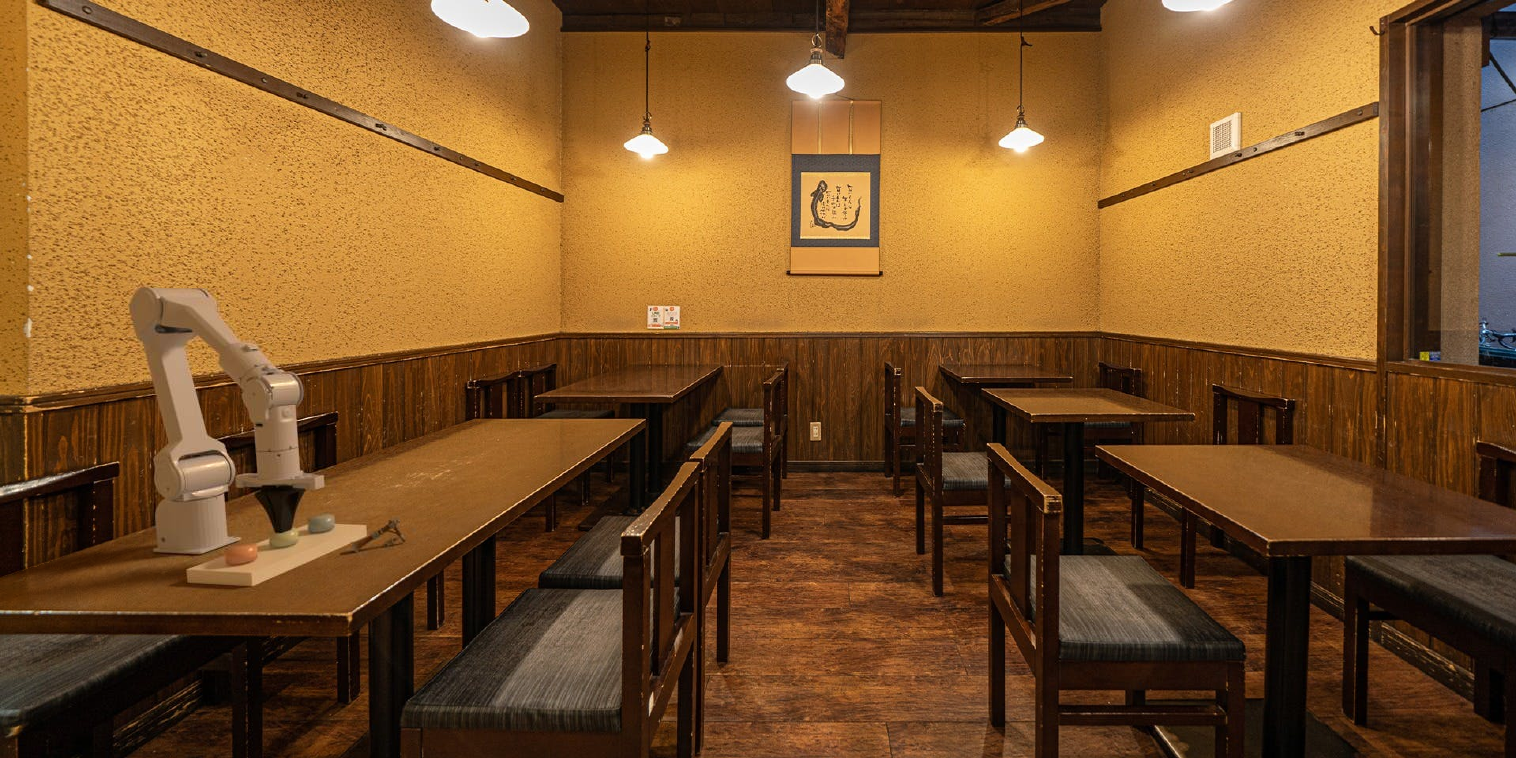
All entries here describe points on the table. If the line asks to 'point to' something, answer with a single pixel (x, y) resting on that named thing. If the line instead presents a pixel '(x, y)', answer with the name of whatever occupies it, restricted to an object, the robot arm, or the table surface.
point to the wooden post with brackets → (377, 534)
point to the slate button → (321, 523)
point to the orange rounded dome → (241, 553)
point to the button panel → (276, 557)
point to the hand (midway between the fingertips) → (283, 531)
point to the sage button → (283, 538)
